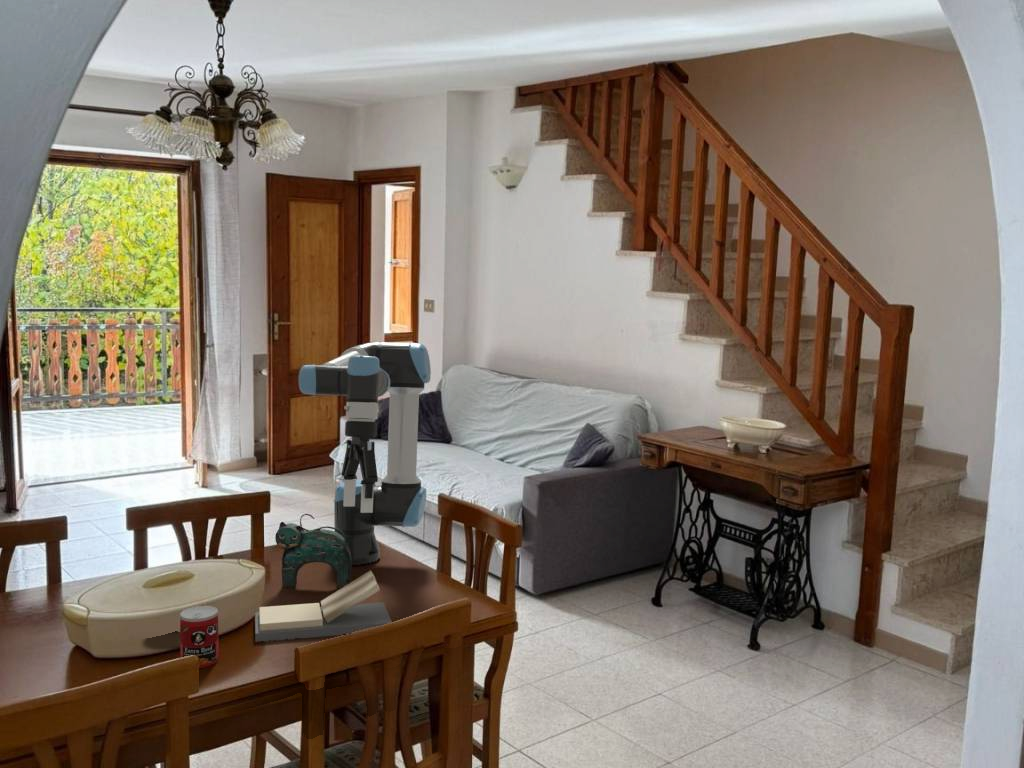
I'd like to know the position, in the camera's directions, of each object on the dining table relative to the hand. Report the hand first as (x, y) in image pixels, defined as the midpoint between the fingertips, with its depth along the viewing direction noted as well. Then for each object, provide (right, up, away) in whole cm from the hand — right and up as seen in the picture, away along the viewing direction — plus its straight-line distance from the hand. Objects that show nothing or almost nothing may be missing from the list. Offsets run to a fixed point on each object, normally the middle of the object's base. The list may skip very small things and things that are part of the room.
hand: (357, 509), depth 212 cm
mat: (-8, -28, 0) cm, 29 cm away
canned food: (-30, -30, -22) cm, 47 cm away
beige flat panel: (-2, -22, +1) cm, 22 cm away
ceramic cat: (-16, -25, +28) cm, 41 cm away
